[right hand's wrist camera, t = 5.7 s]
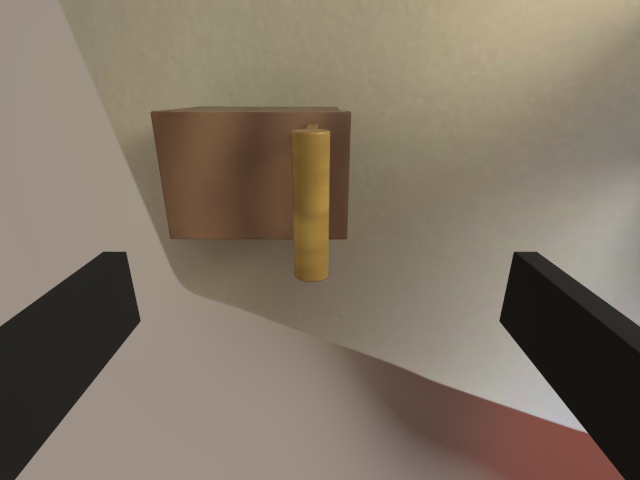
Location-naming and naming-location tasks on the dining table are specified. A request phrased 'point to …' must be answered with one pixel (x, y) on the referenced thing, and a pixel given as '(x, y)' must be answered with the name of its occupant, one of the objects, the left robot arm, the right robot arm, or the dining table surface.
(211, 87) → the dining table surface
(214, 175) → the lid
